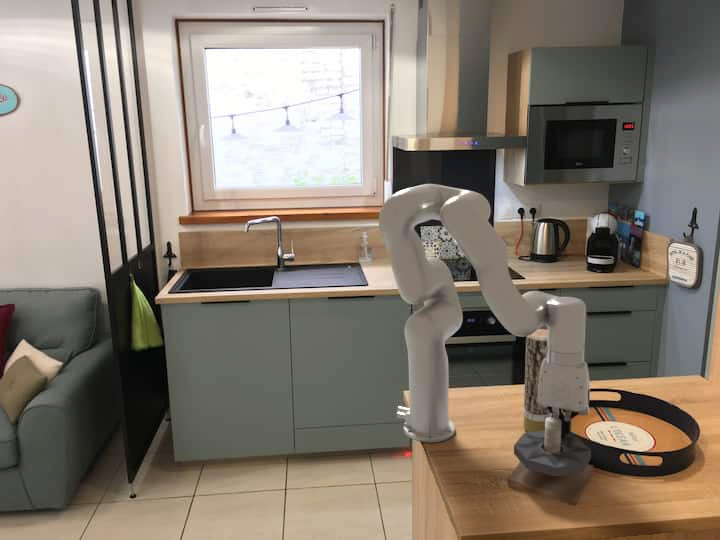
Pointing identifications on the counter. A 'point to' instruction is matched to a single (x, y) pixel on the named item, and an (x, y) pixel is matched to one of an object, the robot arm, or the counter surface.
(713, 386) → the counter surface
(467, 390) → the counter surface
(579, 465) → the grey octagonal disc
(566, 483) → the pipe stand
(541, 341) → the bark-covered log
